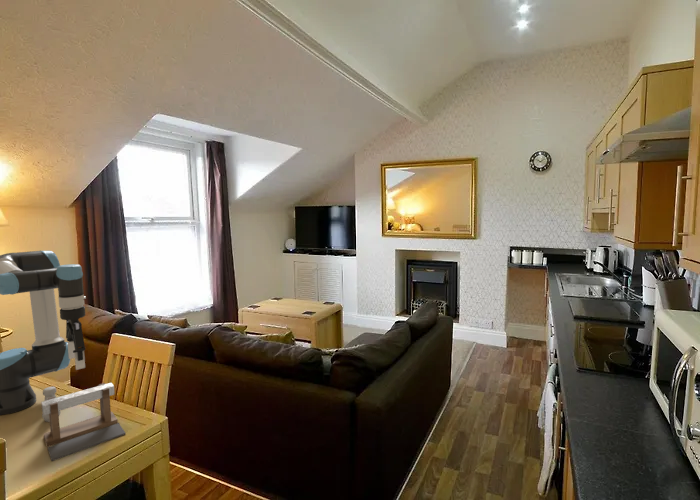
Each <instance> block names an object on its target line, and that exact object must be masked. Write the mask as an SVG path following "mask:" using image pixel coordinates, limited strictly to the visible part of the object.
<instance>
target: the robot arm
mask: <svg viewBox="0 0 700 500" xmlns="http://www.w3.org/2000/svg"><path fill="white" fill-rule="evenodd" d="M58 258H59V257H58V256H57V254H56V253H55V252H54V251H52V250H33V251H22V252H21V251H19V252H7V253H4V254H0V295H2V296H4V295H6V296H7V295H8V296H9V295H13V296H14V295H16V294H23V293H29V297H30V307H31V315H32V321H33V323H32V324H33V330H34V339H35V340H34V341H33V343H32V344H31V349H29V350H27V348H25V347H18V348H12V349H9V350H5V351H2V352H0V416H2V415H8V414H14V413H18V412H20V411H23V410H25V409H28V408H29V407H31V406H33V405H34V404H35V403H36V402H37V395H36V392H35V391H34V389H33V388H32V386H31V384H30V379H31V378H35V377H38V376H42V375H45V374H49V373H53V372H58V371H60V370H64V369H66V368H68V367H69V365H70V363H71V359H74V363H75V371H77V370H81V369H82V370H83V369H85V368H86V363H85V362H86V357H85V351H86V346H85V341H84V335H83V334H84V333H83V327H82V325H83V324H82V322H81V321H80V320H79V319H81V318H83V317H85V316H86V307H85V299H87V297H86V295H85V294H84V277H83V276H84V272H83V268H82V267H83V266H81V265H80V264H79V263H77V264H76V263H73V264H72V263H71V264H61V263H60V260H59V259H58ZM55 289H57V292H58V298H57V299H58V307H59V308H60V309H59V316H60V317H59V318H60V320H63V321H66V323H65V326H66V328H65V338H64V337H62V336H61V335H60V327H59V319H58V313H57V312H58V310H57V304H56V303H57V302H56V294H55ZM65 339H66V340H65Z"/></svg>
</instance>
